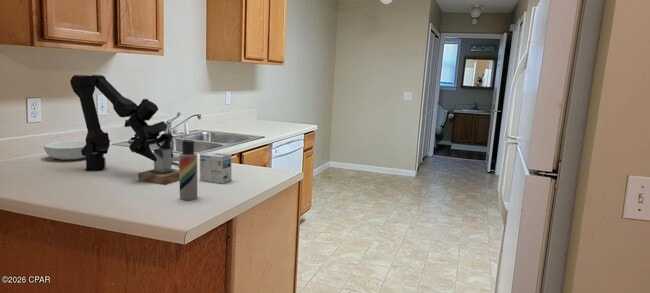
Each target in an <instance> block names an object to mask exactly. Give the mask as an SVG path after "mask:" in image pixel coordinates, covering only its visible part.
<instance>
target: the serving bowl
mask: <svg viewBox="0 0 650 293" xmlns="http://www.w3.org/2000/svg"><path fill="white" fill-rule="evenodd" d="M85 145H86V140H61V141H53V142H49V143H48V142H47V143H45V144H44V145H43V149H44V152H45V153H46V155H48V156H50V157H51V158H52V159H56V160H57V159H58V160H61V161H76V160H81V159H83V158H86V156H82V153H81V150H82V149H83V148H84V146H85Z"/></svg>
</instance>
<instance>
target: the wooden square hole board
mask: <svg viewBox="0 0 650 293" xmlns="http://www.w3.org/2000/svg"><path fill="white" fill-rule="evenodd" d="M137 174H138V175H137V176H138V182H145V183H151V184H152V183H153V184H158V185H164V186H165V185H168V184H172V183H175V182H178V181H179V182H180V172H179V169H175V168H171V173H167V174H157V173H154V168H152V169H148V170H145V171H140V172H138V173H137Z"/></svg>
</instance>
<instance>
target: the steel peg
mask: <svg viewBox="0 0 650 293" xmlns="http://www.w3.org/2000/svg"><path fill="white" fill-rule="evenodd" d="M171 150H172V148H171V149H166V148H160V147H158V148H156V149H155V148H154V149H153V154H154V155H155V157H156V159H157V161H156V162H155V161H153V169H154V173H157V174H167V173H171V169H172V161H171Z"/></svg>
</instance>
